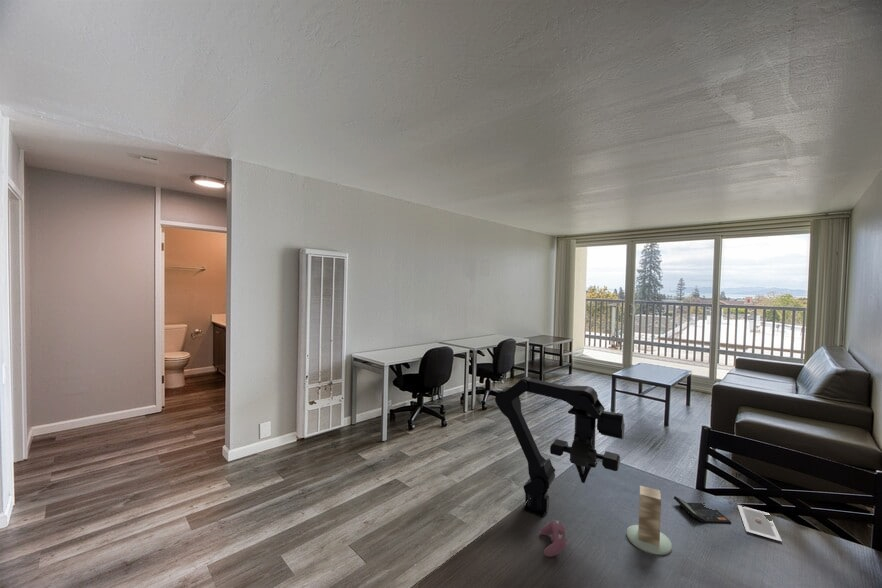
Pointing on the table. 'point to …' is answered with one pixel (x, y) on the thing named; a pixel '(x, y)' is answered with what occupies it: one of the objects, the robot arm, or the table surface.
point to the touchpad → (758, 523)
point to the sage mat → (647, 547)
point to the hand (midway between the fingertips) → (583, 482)
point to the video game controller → (554, 538)
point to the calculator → (703, 512)
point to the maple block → (649, 515)
